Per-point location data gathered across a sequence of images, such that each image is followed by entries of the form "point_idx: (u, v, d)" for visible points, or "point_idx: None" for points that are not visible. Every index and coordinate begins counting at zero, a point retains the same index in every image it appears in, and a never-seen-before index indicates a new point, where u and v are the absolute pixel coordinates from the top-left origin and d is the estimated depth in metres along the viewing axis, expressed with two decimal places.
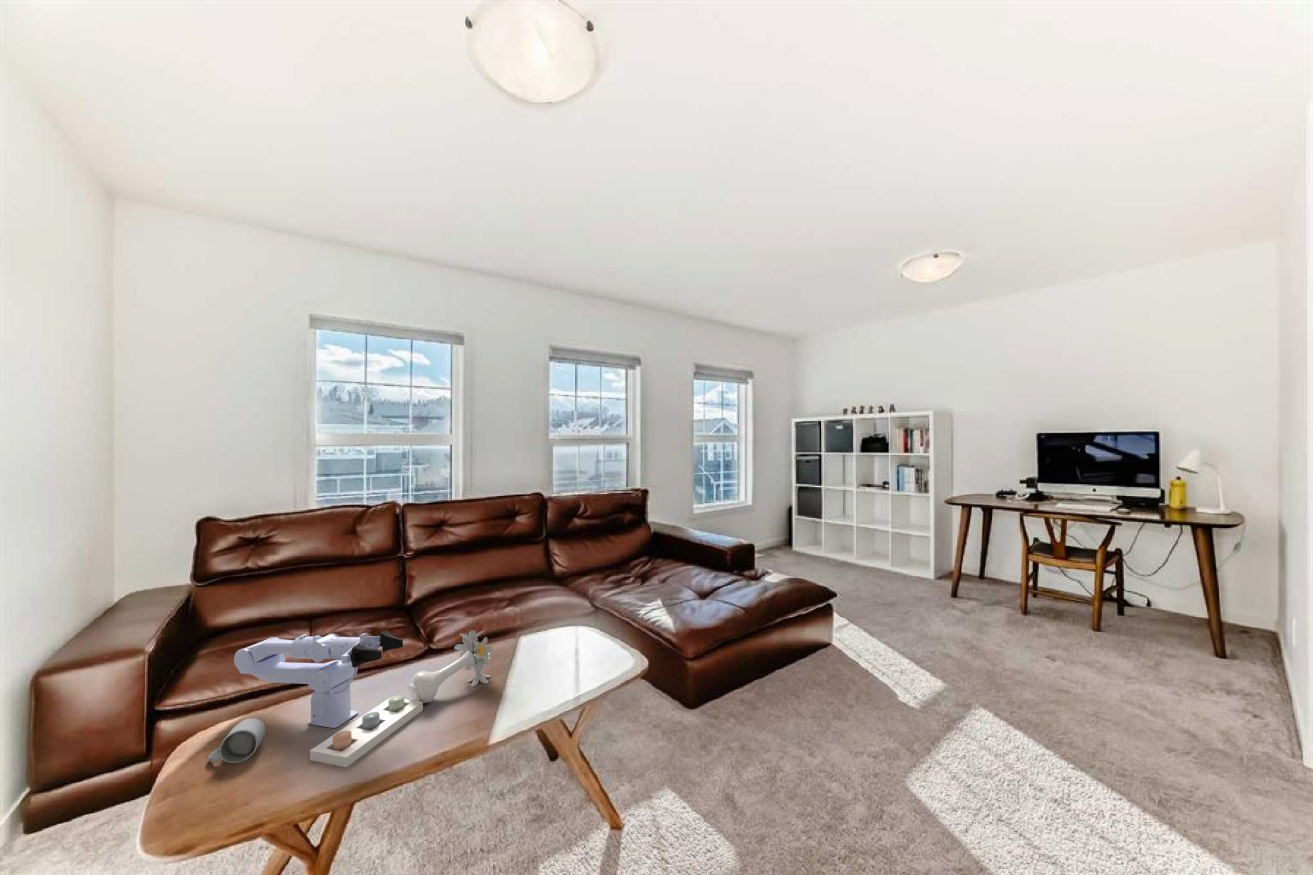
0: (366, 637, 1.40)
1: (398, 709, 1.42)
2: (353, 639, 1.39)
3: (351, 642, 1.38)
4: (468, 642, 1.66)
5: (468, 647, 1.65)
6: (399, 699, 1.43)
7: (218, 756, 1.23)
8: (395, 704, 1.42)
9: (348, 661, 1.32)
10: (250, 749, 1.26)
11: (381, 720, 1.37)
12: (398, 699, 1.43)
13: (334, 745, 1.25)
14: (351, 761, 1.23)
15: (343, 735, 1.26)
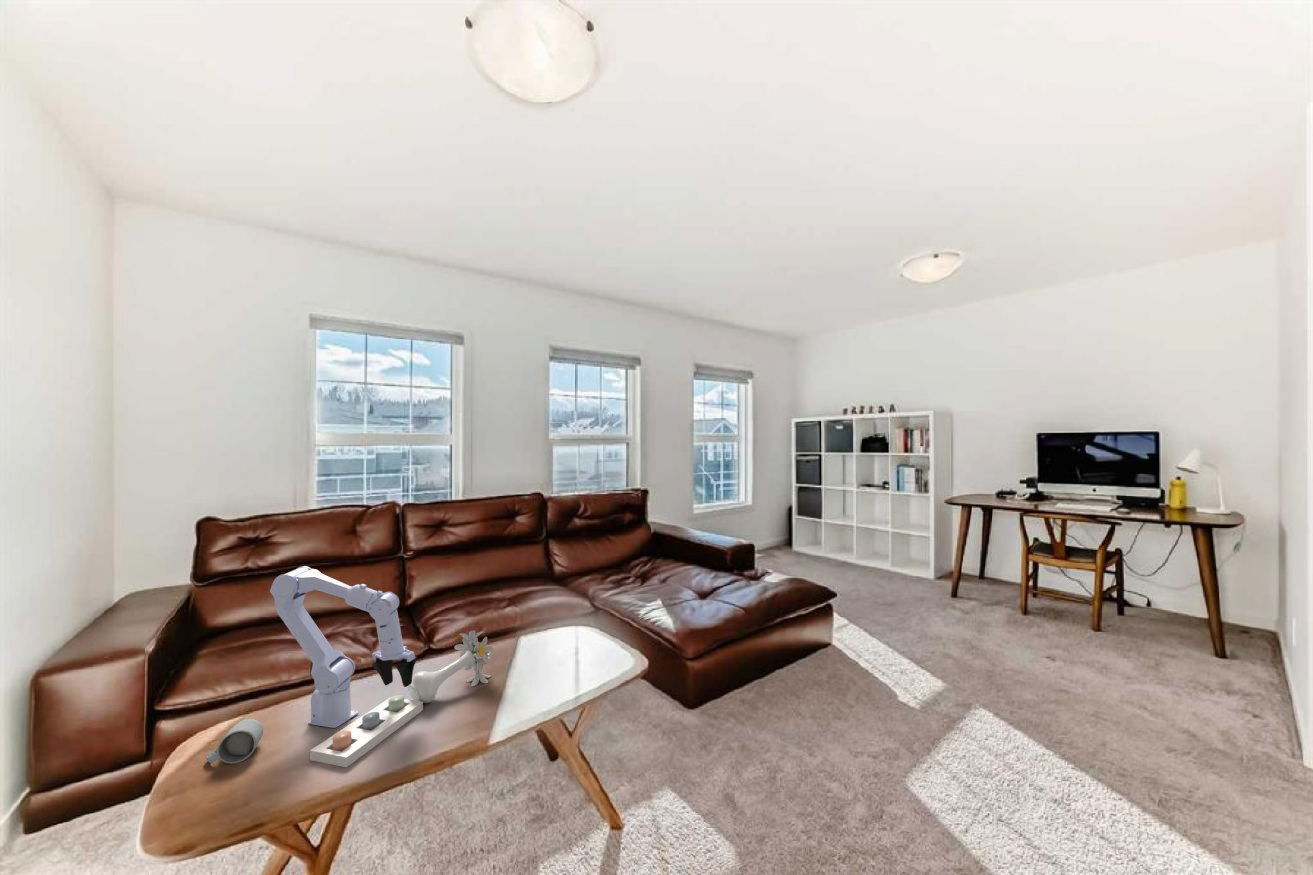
0: None
1: (398, 709, 1.42)
2: None
3: None
4: (468, 642, 1.66)
5: (468, 647, 1.65)
6: (399, 699, 1.43)
7: (216, 756, 1.22)
8: (395, 704, 1.42)
9: None
10: (248, 749, 1.25)
11: (381, 720, 1.37)
12: (398, 699, 1.43)
13: (334, 745, 1.25)
14: (351, 761, 1.23)
15: (343, 735, 1.26)
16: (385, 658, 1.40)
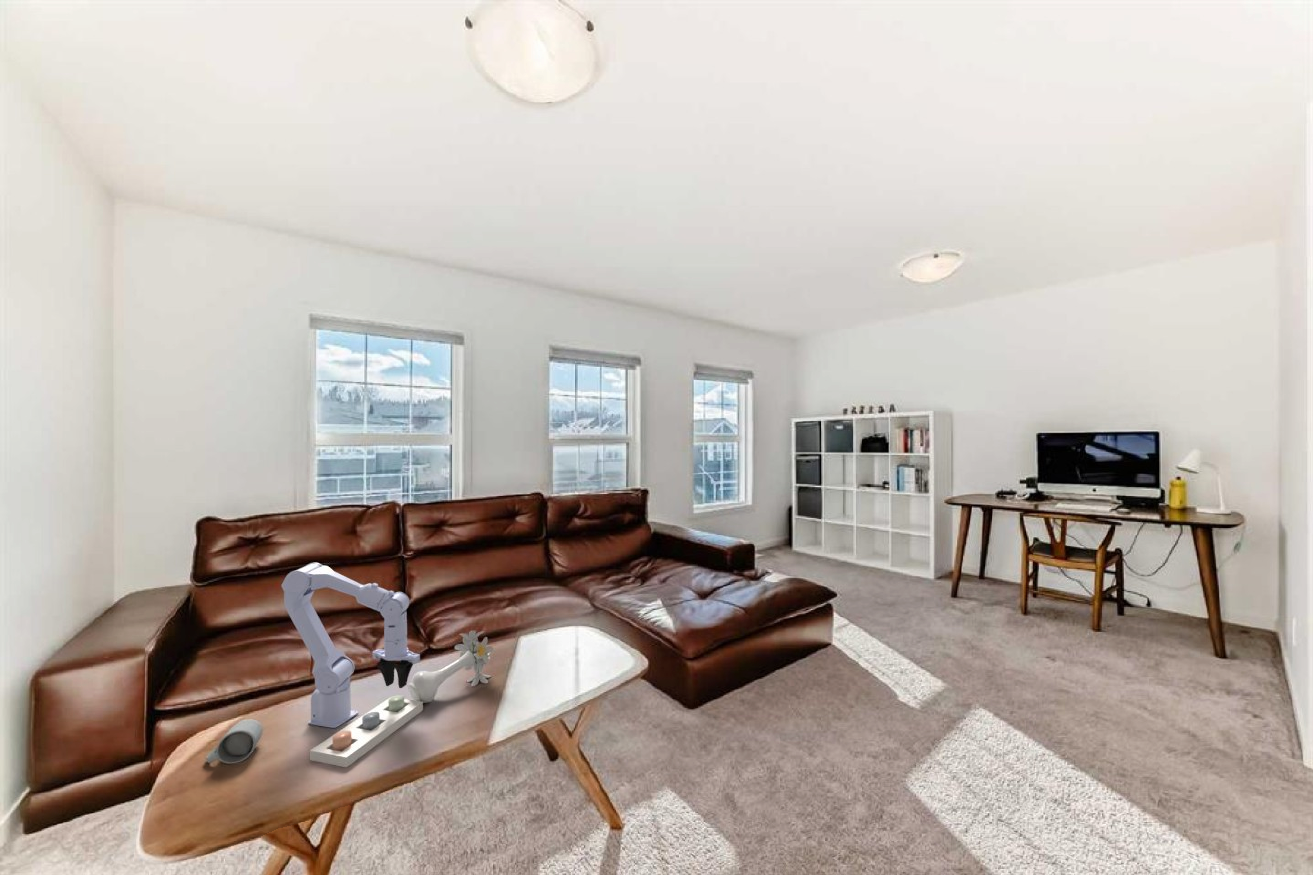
0: None
1: (398, 709, 1.42)
2: None
3: None
4: (468, 642, 1.66)
5: (468, 647, 1.65)
6: (399, 699, 1.43)
7: (215, 757, 1.22)
8: (395, 704, 1.42)
9: None
10: (247, 750, 1.25)
11: (381, 720, 1.37)
12: (398, 699, 1.43)
13: (334, 745, 1.25)
14: (351, 761, 1.23)
15: (343, 735, 1.26)
16: (389, 658, 1.41)
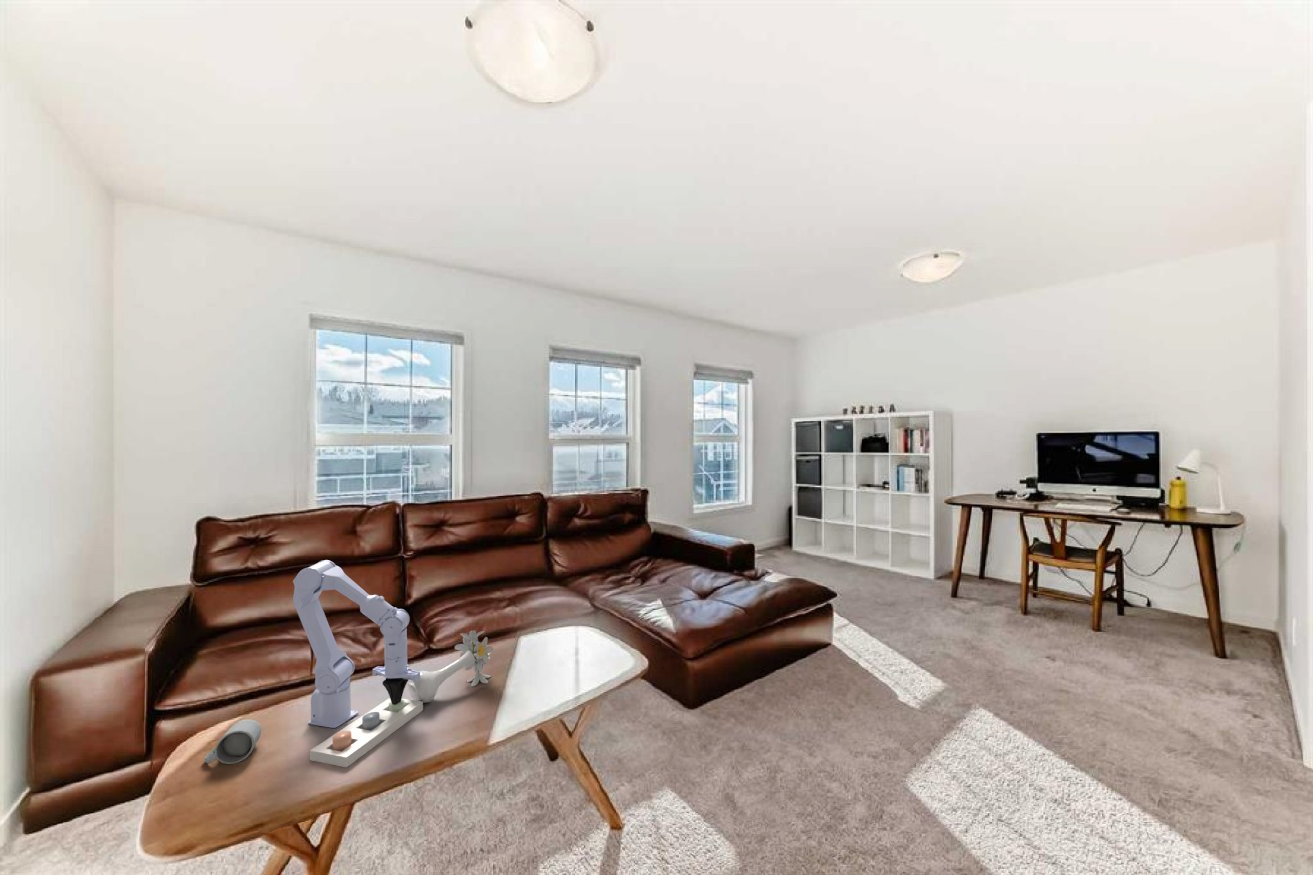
0: None
1: None
2: None
3: None
4: (468, 642, 1.66)
5: (468, 647, 1.65)
6: (399, 703, 1.43)
7: (214, 757, 1.22)
8: (395, 708, 1.42)
9: None
10: (246, 750, 1.25)
11: (381, 720, 1.37)
12: (398, 703, 1.43)
13: (334, 745, 1.25)
14: (351, 761, 1.23)
15: (343, 735, 1.26)
16: (390, 676, 1.41)
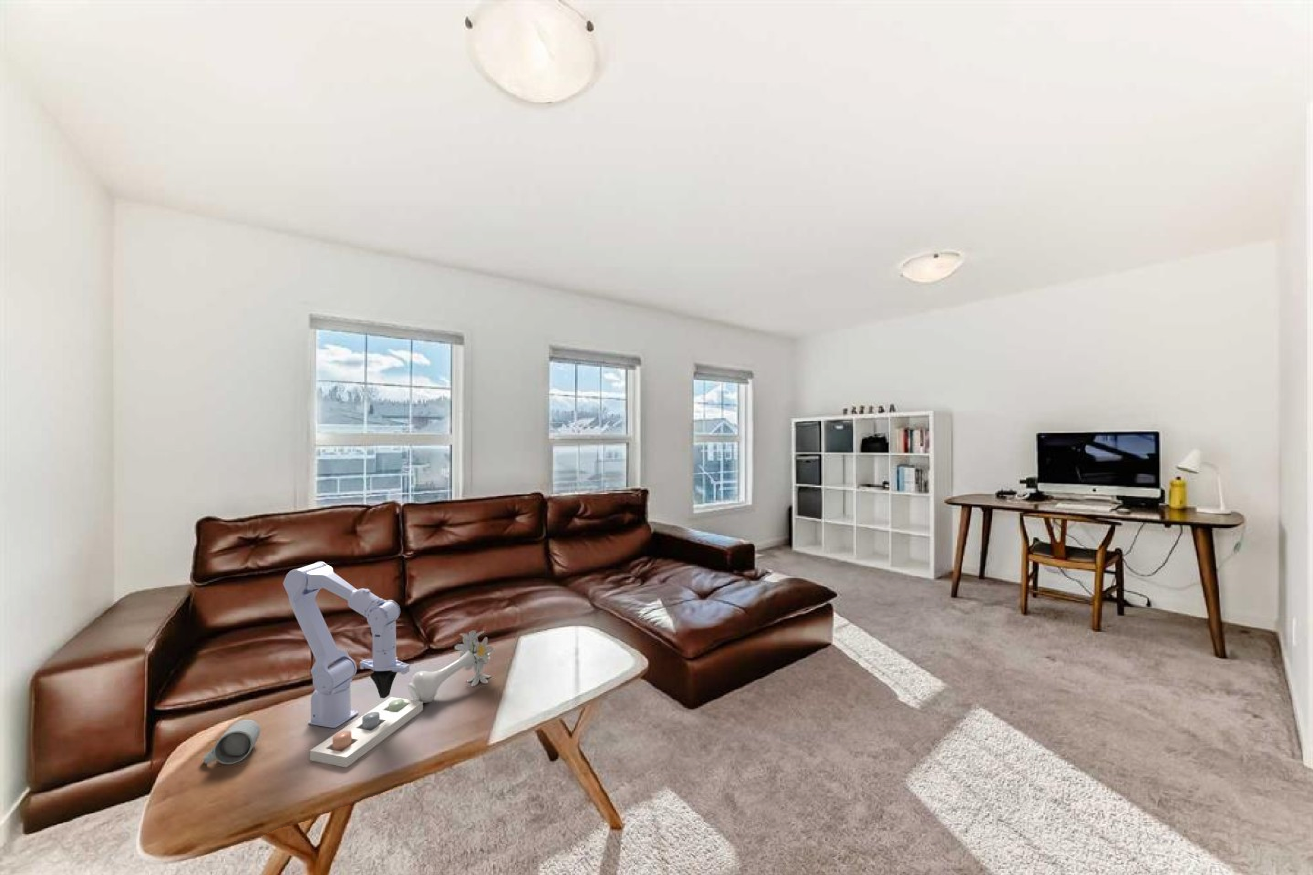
0: None
1: None
2: None
3: None
4: (468, 642, 1.66)
5: (468, 647, 1.65)
6: (399, 703, 1.43)
7: (212, 757, 1.22)
8: (395, 708, 1.42)
9: None
10: (245, 750, 1.25)
11: (381, 720, 1.37)
12: (398, 703, 1.43)
13: (334, 745, 1.25)
14: (351, 761, 1.23)
15: (343, 735, 1.26)
16: (378, 669, 1.37)
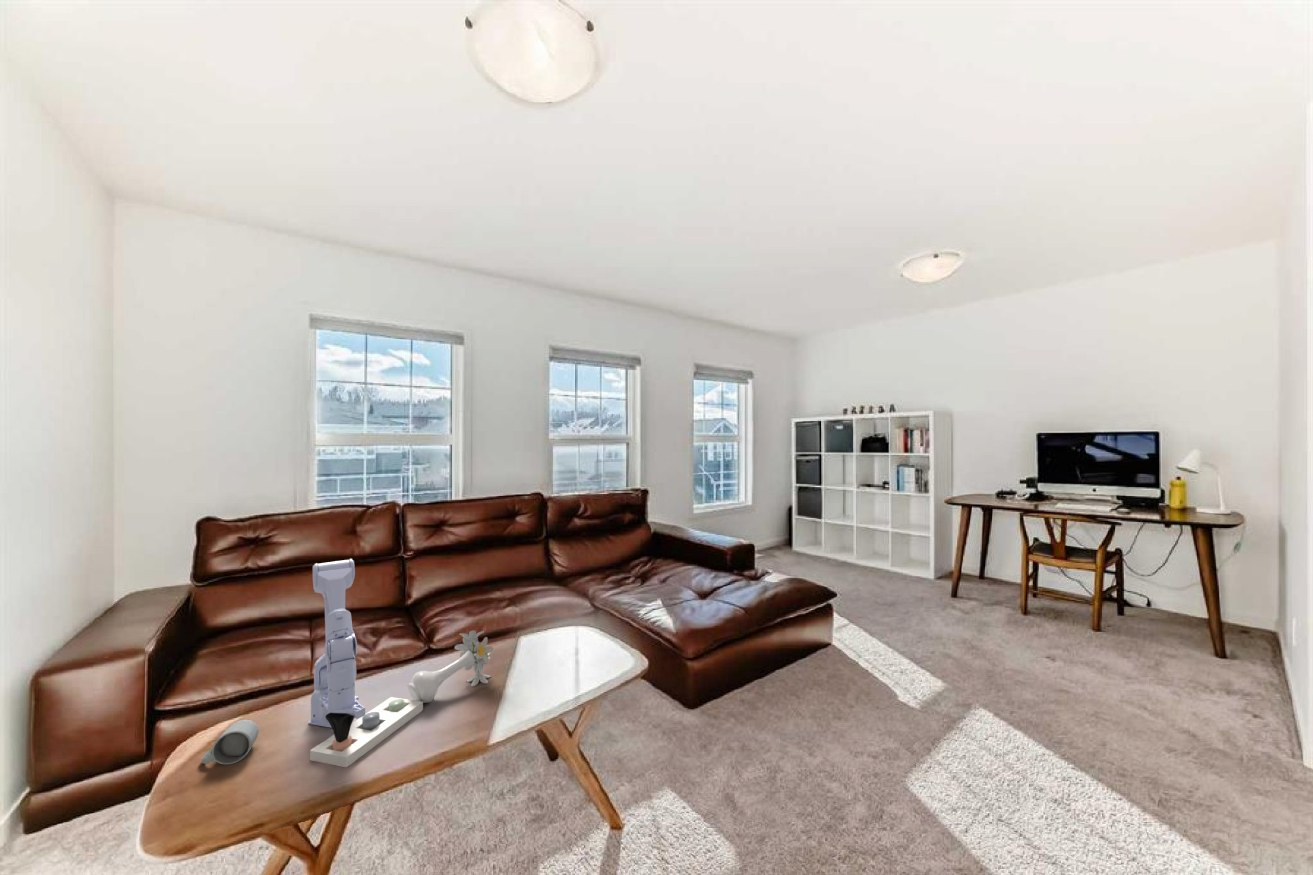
0: None
1: None
2: None
3: (354, 690, 1.28)
4: (468, 642, 1.66)
5: (468, 647, 1.65)
6: (399, 703, 1.43)
7: (211, 757, 1.22)
8: (395, 708, 1.42)
9: None
10: (243, 750, 1.25)
11: (381, 720, 1.37)
12: (398, 703, 1.43)
13: None
14: (351, 761, 1.23)
15: None
16: (331, 710, 1.23)
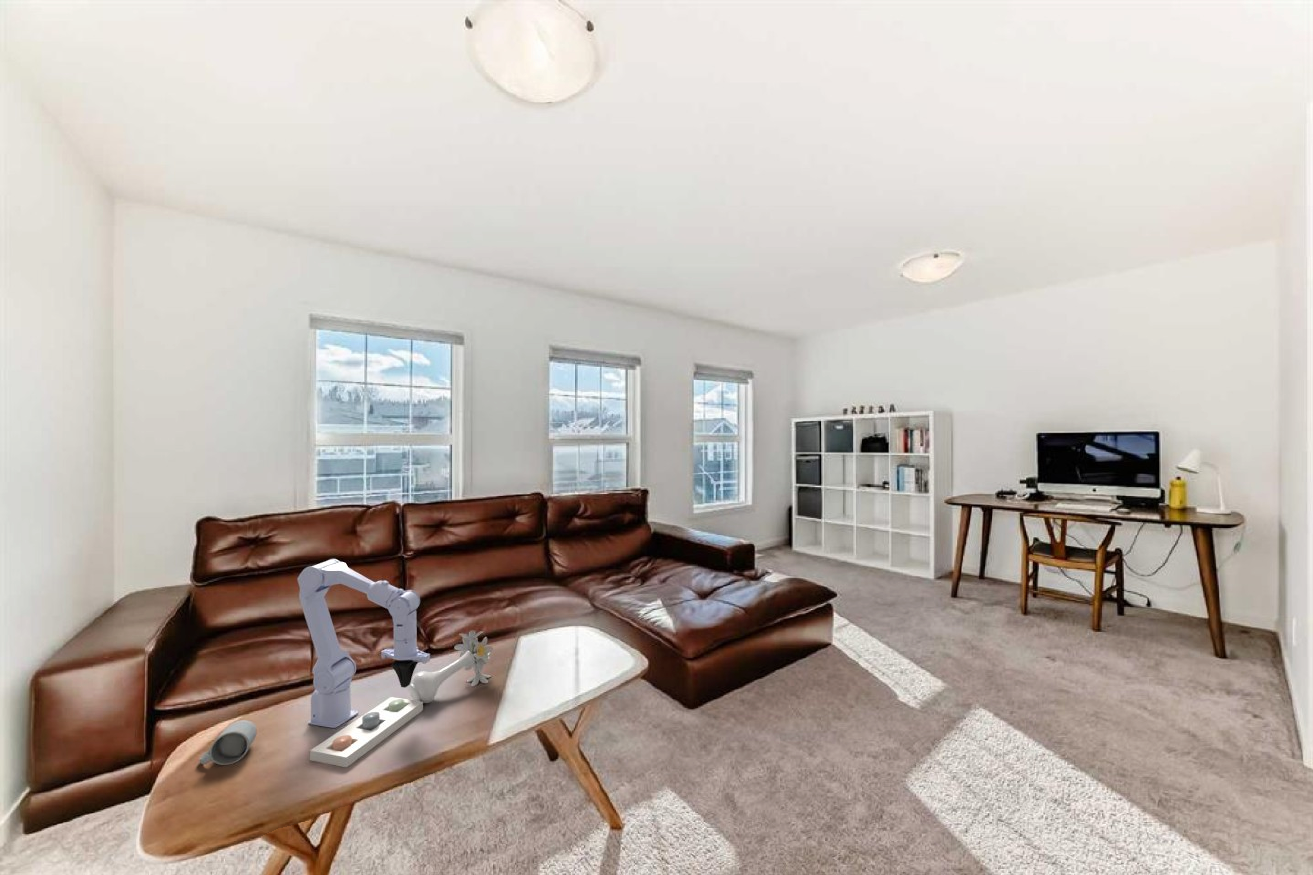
0: None
1: None
2: None
3: None
4: (468, 642, 1.66)
5: (468, 647, 1.65)
6: (399, 703, 1.43)
7: (209, 758, 1.22)
8: (395, 708, 1.42)
9: None
10: (241, 751, 1.25)
11: (381, 720, 1.37)
12: (398, 703, 1.43)
13: None
14: (351, 761, 1.23)
15: (343, 740, 1.26)
16: (399, 658, 1.38)
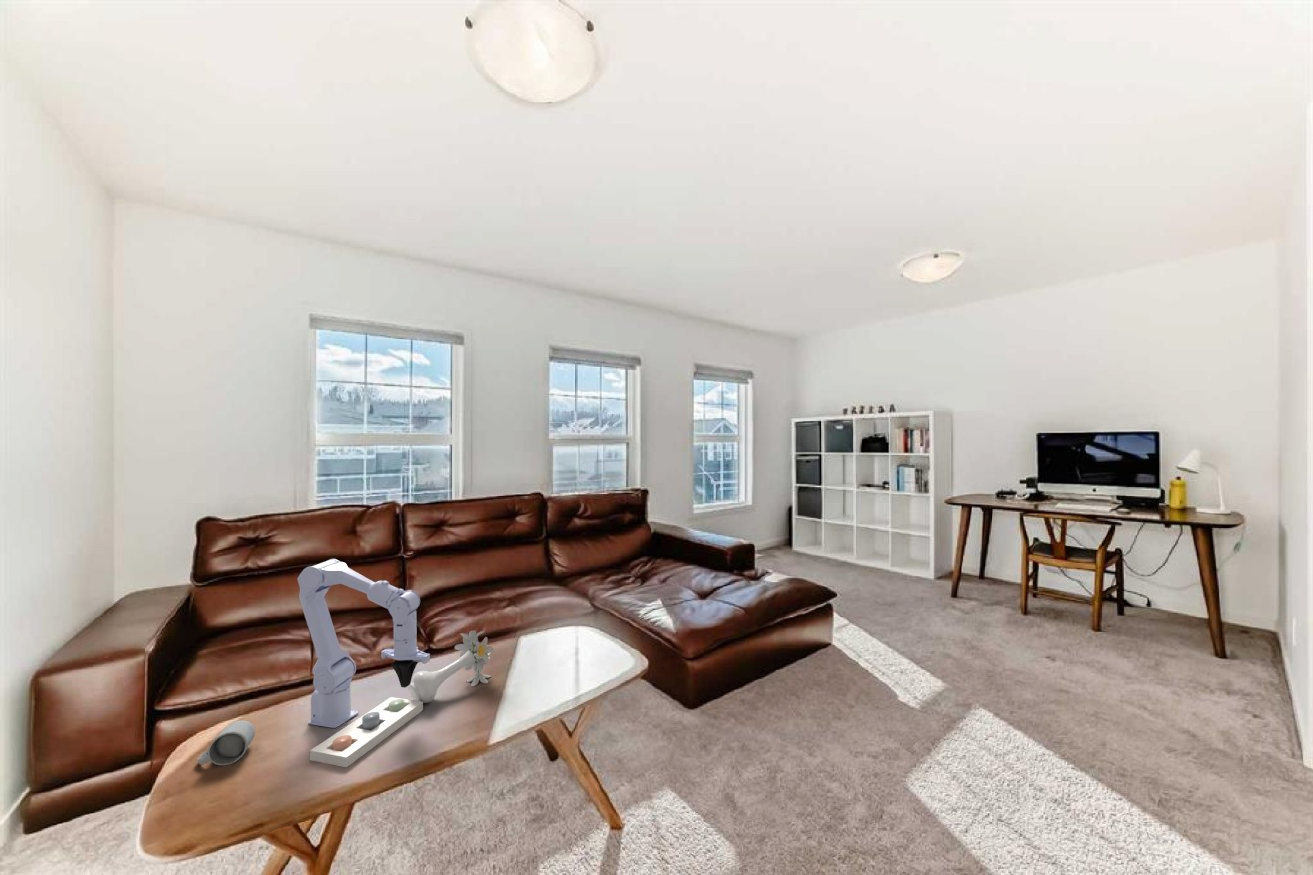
0: None
1: None
2: None
3: None
4: (468, 642, 1.66)
5: (468, 647, 1.65)
6: (399, 703, 1.43)
7: (207, 758, 1.22)
8: (395, 708, 1.42)
9: None
10: (239, 751, 1.25)
11: (381, 720, 1.37)
12: (398, 703, 1.43)
13: None
14: (351, 761, 1.23)
15: (343, 740, 1.26)
16: (399, 658, 1.38)
